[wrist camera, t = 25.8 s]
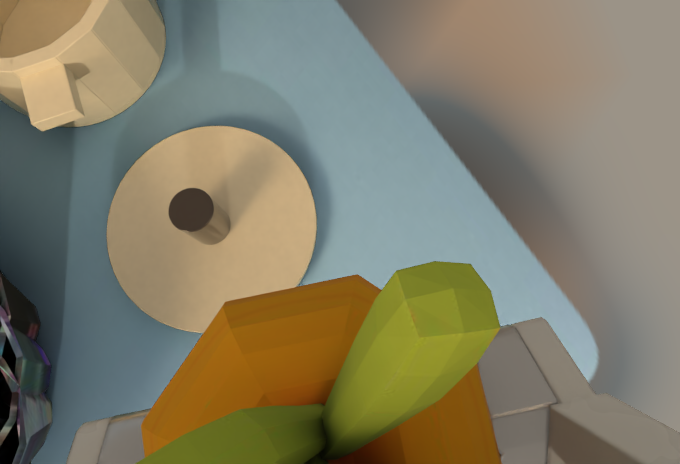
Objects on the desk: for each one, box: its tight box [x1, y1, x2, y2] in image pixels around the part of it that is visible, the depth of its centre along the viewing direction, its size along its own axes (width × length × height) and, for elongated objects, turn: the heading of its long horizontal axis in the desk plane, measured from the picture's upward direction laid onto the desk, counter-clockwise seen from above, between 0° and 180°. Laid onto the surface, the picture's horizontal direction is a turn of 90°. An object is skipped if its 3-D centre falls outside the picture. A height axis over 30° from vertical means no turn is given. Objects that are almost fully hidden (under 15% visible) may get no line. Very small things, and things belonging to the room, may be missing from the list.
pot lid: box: [106, 126, 317, 333], centre depth 31 cm, size 13×13×5 cm
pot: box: [0, 0, 166, 131], centre depth 32 cm, size 12×17×8 cm
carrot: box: [135, 261, 502, 464], centre depth 10 cm, size 5×5×15 cm
